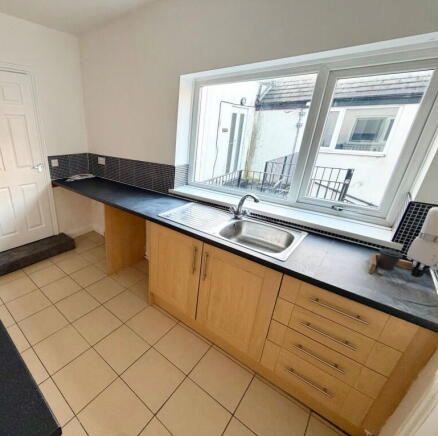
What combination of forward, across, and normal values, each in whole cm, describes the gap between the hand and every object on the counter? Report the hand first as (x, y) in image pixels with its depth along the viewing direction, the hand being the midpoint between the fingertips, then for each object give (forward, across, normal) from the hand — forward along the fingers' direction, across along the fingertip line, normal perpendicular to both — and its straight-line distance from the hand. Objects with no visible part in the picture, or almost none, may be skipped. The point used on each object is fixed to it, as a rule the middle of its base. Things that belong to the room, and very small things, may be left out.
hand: (416, 276), depth 105 cm
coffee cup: (+4, +12, +1) cm, 13 cm away
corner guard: (+4, +10, 0) cm, 11 cm away
